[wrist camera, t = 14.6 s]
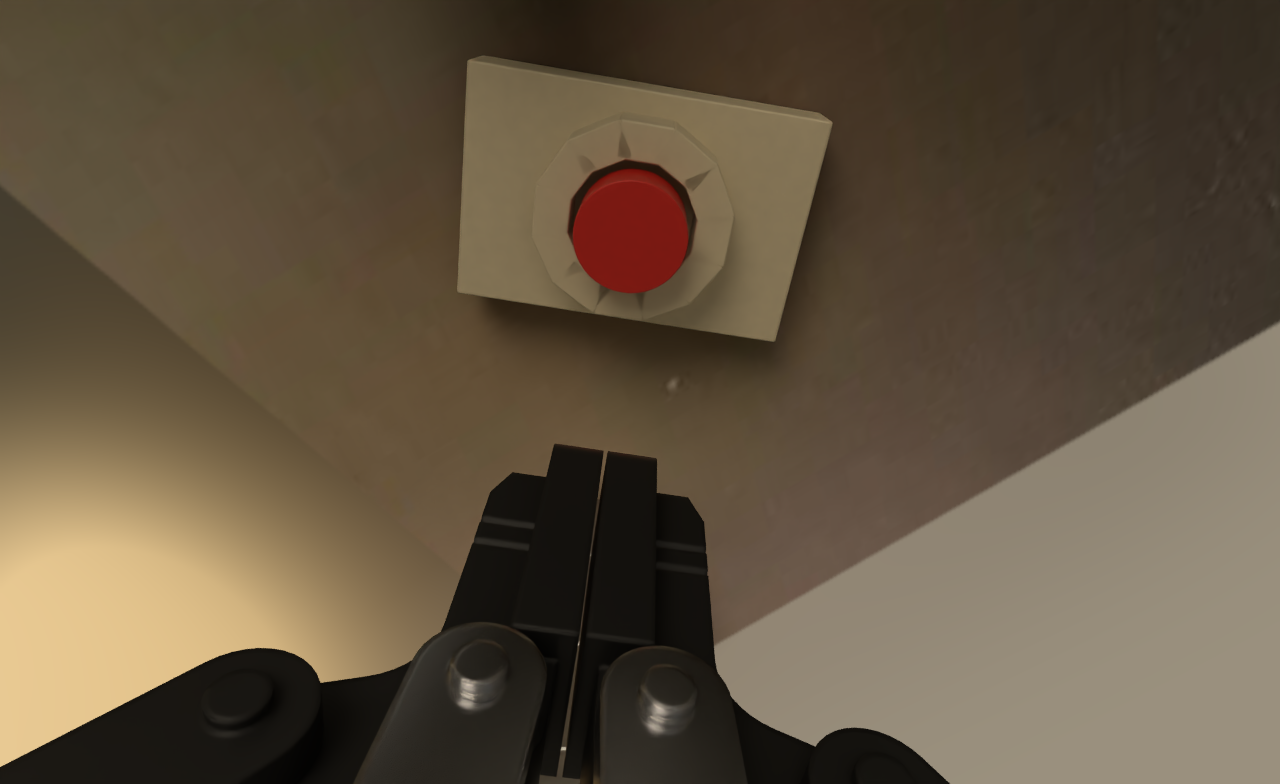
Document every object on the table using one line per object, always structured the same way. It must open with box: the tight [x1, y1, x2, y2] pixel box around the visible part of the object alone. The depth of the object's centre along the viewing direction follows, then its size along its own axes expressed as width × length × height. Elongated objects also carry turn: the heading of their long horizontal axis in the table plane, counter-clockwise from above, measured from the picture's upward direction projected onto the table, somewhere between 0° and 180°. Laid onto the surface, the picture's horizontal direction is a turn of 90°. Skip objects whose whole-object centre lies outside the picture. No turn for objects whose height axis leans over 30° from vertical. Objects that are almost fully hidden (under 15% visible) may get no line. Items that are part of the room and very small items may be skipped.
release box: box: [457, 55, 833, 342], centre depth 26 cm, size 12×8×4 cm, turn 81°
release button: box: [573, 168, 688, 293], centre depth 24 cm, size 4×4×2 cm
